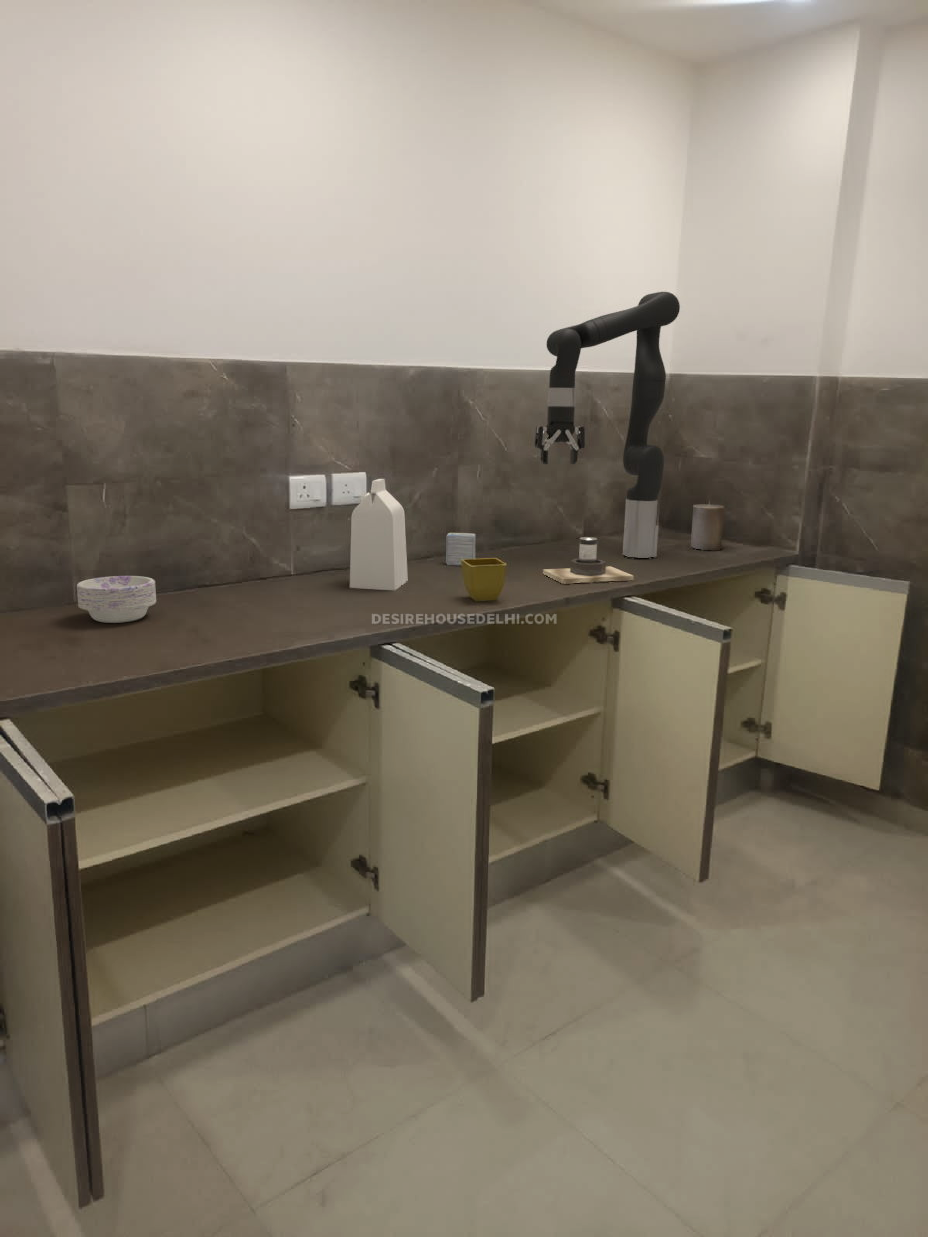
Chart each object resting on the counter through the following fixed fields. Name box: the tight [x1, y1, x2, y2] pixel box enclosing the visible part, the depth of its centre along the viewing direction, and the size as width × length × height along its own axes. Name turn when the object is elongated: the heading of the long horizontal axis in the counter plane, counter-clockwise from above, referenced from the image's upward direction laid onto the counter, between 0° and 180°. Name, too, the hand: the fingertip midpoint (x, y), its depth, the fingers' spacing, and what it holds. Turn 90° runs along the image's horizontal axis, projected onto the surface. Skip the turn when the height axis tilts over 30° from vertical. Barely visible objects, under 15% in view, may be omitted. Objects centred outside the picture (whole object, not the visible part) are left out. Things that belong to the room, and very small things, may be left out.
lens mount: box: [542, 558, 634, 584], centre depth 233 cm, size 20×13×4 cm, turn 108°
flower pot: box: [461, 557, 508, 602], centre depth 206 cm, size 9×9×9 cm
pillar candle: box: [690, 501, 725, 552], centre depth 281 cm, size 10×10×15 cm
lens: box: [578, 536, 598, 564], centre depth 232 cm, size 5×5×9 cm
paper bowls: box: [76, 575, 157, 624], centre depth 183 cm, size 15×15×8 cm
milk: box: [349, 478, 409, 591], centre depth 218 cm, size 12×12×26 cm
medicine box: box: [445, 532, 476, 566], centre depth 248 cm, size 8×4×9 cm, turn 84°
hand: (559, 463), depth 249 cm, fingers open, 8 cm apart
